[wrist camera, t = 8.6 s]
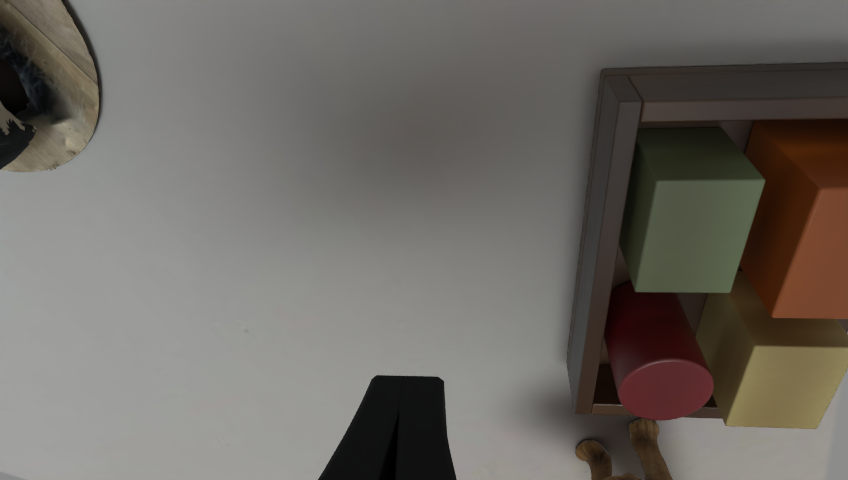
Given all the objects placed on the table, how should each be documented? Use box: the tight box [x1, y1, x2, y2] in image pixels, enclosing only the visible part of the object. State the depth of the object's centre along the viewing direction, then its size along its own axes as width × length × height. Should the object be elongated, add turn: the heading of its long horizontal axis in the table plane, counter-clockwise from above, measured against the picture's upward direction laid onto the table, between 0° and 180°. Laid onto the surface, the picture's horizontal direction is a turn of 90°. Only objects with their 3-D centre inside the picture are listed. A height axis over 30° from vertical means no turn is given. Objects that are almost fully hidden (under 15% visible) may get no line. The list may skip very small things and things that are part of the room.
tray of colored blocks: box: [566, 63, 848, 429], centre depth 18 cm, size 8×12×5 cm, turn 3°
